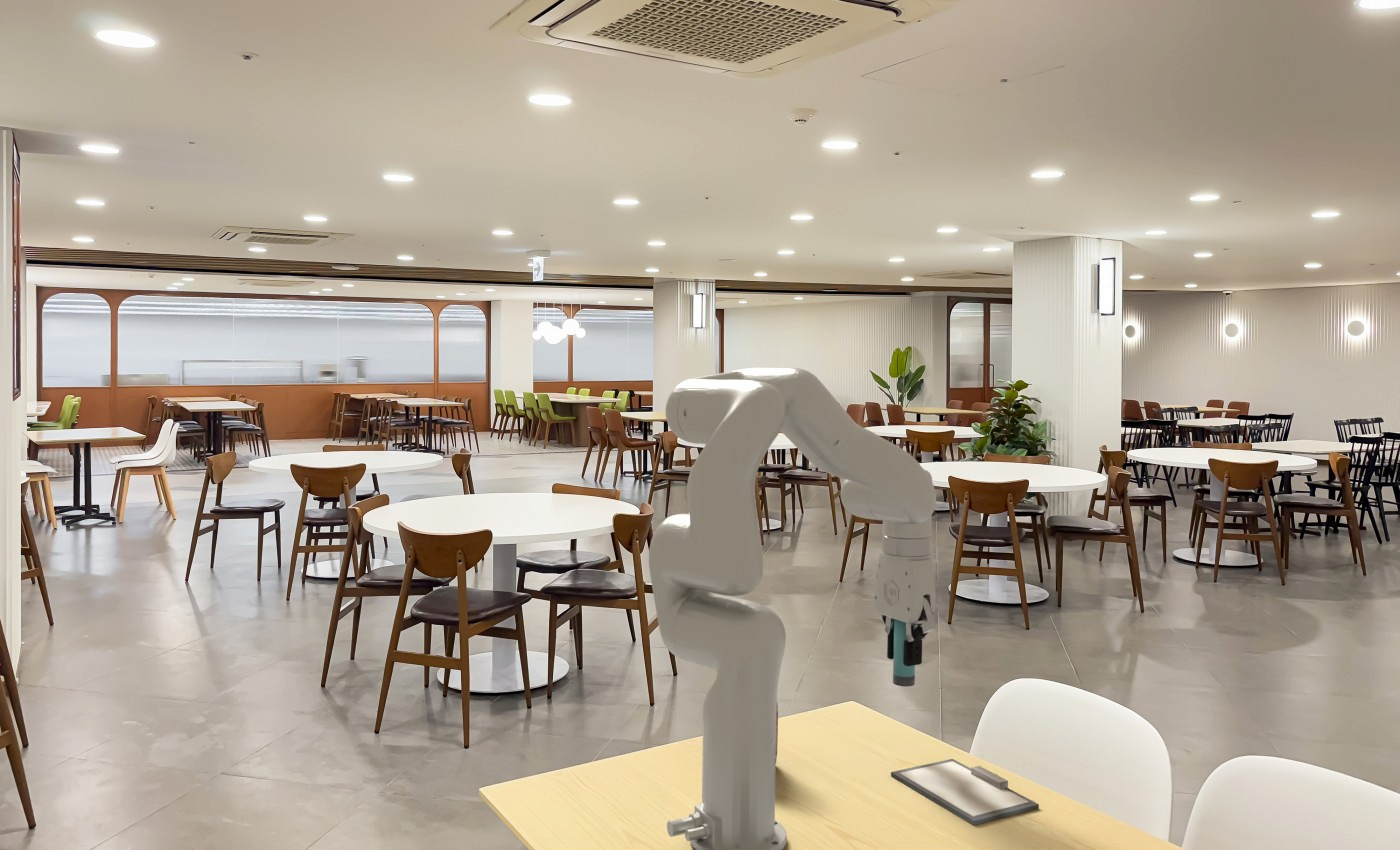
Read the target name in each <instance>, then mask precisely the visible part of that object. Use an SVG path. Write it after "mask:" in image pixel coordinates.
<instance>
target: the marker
mask: <svg viewBox="0 0 1400 850" xmlns="http://www.w3.org/2000/svg"><path fill="white" fill-rule="evenodd" d="M916 627H917V625H913V629H915V628H916ZM905 640H907V636H906V623H904V622H901V621H898V620H895V619H894V653H893V659H892V660H893V662H892V665H893V666H892V684H893V685H895V686H898V687H913V686H914V685H915V684H916V683H915V681H916V679H915V678H916V665H913V666H905V665H904V663H903V657H904V641H905Z"/></svg>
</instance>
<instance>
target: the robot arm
mask: <svg viewBox="0 0 1400 850" xmlns="http://www.w3.org/2000/svg"><path fill="white" fill-rule="evenodd" d="M669 394H670V395H669V396H668V398H667V401H666V405H665V418H666V422H667V423H666V424H667V425H668V427H669V429H670V430H671V432H672V433H673V434H674V435H675V436H676V437H678V439H680V440H681V441H684V442H687V443H692V444H698V445H699V444H701V445H704V447H703V449H702V450H701V451H700V452H699V453H698V454H699V455H698V456H697V458H696V459H695V461H694V463H693V465H692V467H691V469H690V472H689V475H688V478H687V484H686V496H687V505H688V507H687V508H688V513H679V514H678V513H677V514H673V515H671V516H669V517H667V518H665V519H664V520H662V522H660V523H659V524H658V526H657V527H656V529H655V530H654V533H653V535H652V537H651V541H650V545H649V548H648V549H649V550H648V566H649V575H650V576H649V577H650V580H651V581H650V582H651V587H652V592H653V594H652V595H653V599H654V606H655V612H656V617H657V623H658V628H659V633H660V636H661V639H662V641H663V644H664V646H665V647H666V648H667V650H668V651H669V652H670V653H671V654H672V655H674V656H675V657H677V658H678V659H681V660H684V661H687V662H690V663H694V664H698V665H699V666H702V667H703V666H704V667H708V668H709V669H712V670H715V671H716V677H715V680H714V682H713V683H712V685H711V687H710V688H709V690H708V692H707V694H706V696H705V698H704V703H703V707H702V763H701V764H702V772H701V773H702V777H701V780H702V781H701V782H702V783H701V786H702V787H701V792H702V793H701V803H698V804H694V813H690V814H689V815H688V817H684V818H676V819H672V820H668V821H667V824H666V829H667V834H668V836H670V837H671V838H672V837H676V836H682V835H684V838H685V840H686V842H690V844H691V845H692V847H693V848H694V849H695V850H784V848H785V847H786V844H787V831H786V829H785V827H784V826H783V824H782V823H780V822H779V821H778V820H777V819H775V816H776V815H775V814H776V764H777V759H776V707H777V703H778V686H779V680H780V673H781V668H782V663H783V658H784V655H785V649H786V648H785V647H786V640H787V638H786V637H787V635H786V627H785V625H784V624H783V621H782V620H781V618H780V617H779V615H778V614H777V613H776V612H775V611H773V610H772V609H771V608H769V607H767V606H765V605H763V604H761V603H758V602H756V601H752V600H747V599H744V598H740V597H739V596H746V595H747V594H750V593H752V592H753V591H755V590H756V589H757V588H758V586H759V585H760V583H761V581H762V578H763V575H764V574H763V573H764V558H763V547H762V538H761V531H760V523H759V518H758V517H759V516H758V509H757V502H756V501H757V500H756V487H755V486H756V478H757V474H758V471H759V467H760V466H761V463H762V461H763V460H764V458H765V456H766V453H767V452H768V451H769V449H770V448H771V446H772V444H773V443H774V442H775V440H776V438H777V437H778V435H779V434H780V432H781V433H782V434H783V435H784V436H785V437H786V438H787V439H788V440H789V441H790V442H791V443H792V444H793V446H795V447H796V448H797V449H798V451H800V453H802V455H803V456H804V457H805V458H806V459H807V460H808V461H809V463H811V464H812V466H814V467H815V468H816V469H818V470H820V471H822V472H825V473H827V474H829V475H831V476H834V477H837V478H840V479H842V480H844V481H843V482H842V485H841V489H840V501H841V504H842V506H843V507H844V508H845V510H846V511H847V512H848V513H849V514H851V515H853V516H855V517H858V518H862V519H867V520H868V519H869V520H874V521H875V520H876V521H882V544H881V545H882V546H881V547H882V549H881V550H882V551H880V553H879V556H878V560H877V564H876V570H875V571H876V573H875V577H874V578H875V581H874V591H873V592H874V594H873V607H874V610H875V611H876V612H878V614H879V616H880V617H881V618H882V621H883V623H884V625H885V626H884V631H885V633H887V648H886V649H887V650H886V651H887V652H886V655H887V656H886V657H887V659H889V660H893V653H894V619H895V620H898V621H901V622H904V623H906V636H907V640H905V641H904V657H903V663H904V665H905V666H913V665H915V666H917V665H918V666H919V665H921V664H922V662H923V641H924V640H925V639H926V636H927V635H928V634H929V633H930V632H933V631H934V630H936V629H937V624H936V621H935V612H936V586H935V575H934V574H935V572H934V566H933V560H932V559H933V558H932V520H933V518H932V517H933V514H934V511H935V508H936V504H937V493H936V489H935V485H934V484H933V477H932V475H931V472H929V471H928V470H926V469H925V468H923V467H922V466H921V464H920V463H919V462H918V461H917V459H916V458H915V457H914V456H913V455H911V454H910V453H909V452H908V451H906V450H905V449H903V448H901V447H900V446H898V445H897V444H894V443H893V442H891V441H889V440H887V439H885V438H883V436H880V435H878V434H876V433H875V432H873V431H871V430H869V429H867V428H865V427H863V426H860V425H859V424H858V423H857V422H856V421H854V419H853V418H852V417H851V415H850V414H849V413H848V412H847V411H846V410H845V409H844V408H843V406H842V405H841V404H840V403H839V402H838V400H837V399H836V398H835V397H834V395H832V393H831V392H830V391H829V390H828V388H827V387H826V386H825V385H824V384H823V382H821V380H820V379H819V378H818V377H817V376H816V375H815V374H813V373H812V372H811V371H809V370H805V369H802V368H796V367H748V368H742V369H741V368H740V369H736V370H731V371H727V372H721V373H720V372H719V373H717V374H716V373H715V374H711V375H710V374H709V375H704V376H700V377H699V376H698V377H694V378H689V379H686V380H684V381H682V382H680V383H678V385H676V387H674V388H673V390H672V391H671V393H669ZM913 625H916V628H915V629H913ZM775 763H776V764H775Z"/></svg>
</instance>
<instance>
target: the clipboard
mask: <svg viewBox="0 0 1400 850" xmlns="http://www.w3.org/2000/svg"><path fill="white" fill-rule="evenodd" d="M890 777H892V778H893V779H895V780H897V781H899V782H901V783H902V784H903V785H906V786H907V787H909V788H911V789H912V790H914V791H915V792H917V793H919V794H920V795H922V796H924V797H925V798H926V799H929V800H931V801H933V803H936V804H937V805H939V806H941V808H944V809H945V810H947V811H949V812H950V813H953V814H954V816H955V815H956V816H957V817H959V818H961V819H962V820H964V821H966V822H967V823H969V824H970V825H972V826H976V825H980V824H984V823H988V822H991V821H996V820H1000V819H1003V818H1008V817H1011V816H1015V815H1019V814H1023V813H1027V812H1031V811H1035V810H1038V809H1039V808H1040V804H1039V803H1037V802H1036V801H1034V800H1033V799H1032V800H1031V799H1029V798H1028V797H1026V796H1024V795H1022V794H1020V793H1019V792H1017V791H1014V790H1013V789H1010V788H1009V779H1005V778H1004V777H1002V776H1000V775H998V774H996V773H994V772H992V771H990V770H989V769H986V768H984V766H981V765H978V766H977V765H976V766H973V767H969V766H967V765H965V764H963V763H961V762H959V761H957V760H956V759H953V758H950V759H944V760H942V761H941V760H940V761H935V762H931V763H926V764H921V765H917V766H913V767H909V768H904V769H899V770H895V771H891V772H890Z"/></svg>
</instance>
